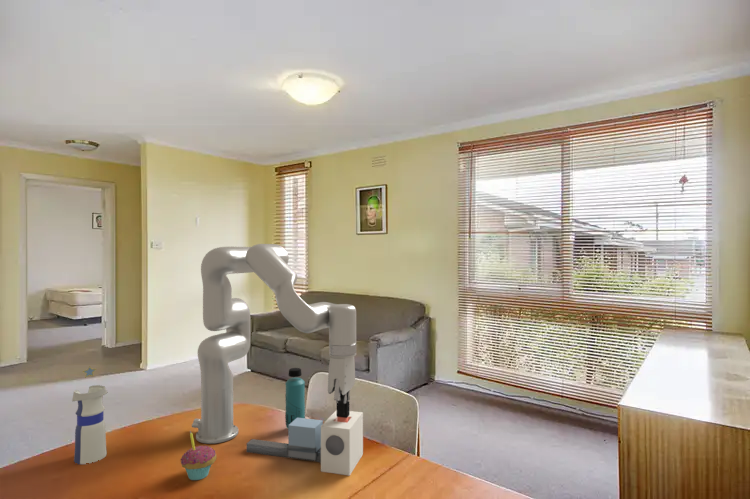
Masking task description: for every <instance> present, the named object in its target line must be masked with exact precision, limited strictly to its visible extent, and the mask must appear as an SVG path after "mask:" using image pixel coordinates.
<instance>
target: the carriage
mask: <svg viewBox="0 0 750 499" xmlns="http://www.w3.org/2000/svg"><path fill="white" fill-rule="evenodd" d="M323 423H324V420H323V419H313V418H306V417H305V418H296V419H295V420H294V421H293V422H292V423H290V424H289V425H288V428H287V429H288V431H287V432H288V434H287V435H288V438H287V439H288V443H287V444H288V456H289V457H296V458H304V459H311V460H316V452H317V451H318V450H319V449H320V448H321V425H322V424H323Z"/></svg>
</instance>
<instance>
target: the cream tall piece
mask: <svg viewBox="0 0 750 499" xmlns="http://www.w3.org/2000/svg"><path fill="white" fill-rule="evenodd" d="M96 370H97V368H92V367H91V366H89V367H88V368H87V369H85V370H83V371H82V373H85V376H84V378H87V377H94V376H95V375H94V372H95V371H96ZM107 393H108V390H107V388H106V387H105V386H104V385H100V384H97V385H95V384H94V385H90V386H89V387H88V392H87V393H85V392H83V393H81V392H80V391H79V390H78V389H75V390H74V391H73V393H72V394H73V395H72V399H71V401H72V402H77V405H78V406H77V409H76V410H75V415H76V426H75V431H74V455H73V457H74V458H73V463H74V462H75V463H74V464H76V463H77V464H76V465H87V464H86V463H89V464H93V463H96V462H98V460H99V461H101V460H103V459H104V458H105V457H107V453H108V452H107V439H106V438H107V436H106V420H104V411H105V409H106V407H105V405H104V403H103V402H104V401H103V398H104V397H103V396H105V395H106V394H107ZM92 462H93V463H92Z"/></svg>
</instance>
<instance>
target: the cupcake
mask: <svg viewBox="0 0 750 499" xmlns="http://www.w3.org/2000/svg"><path fill="white" fill-rule="evenodd" d="M189 436H190V437H189V438H190V443H191V448H189V449H188V450H187V451H184V452H185V453H183V454H182V456H181V458H180V464H181V467H182V468H184V469H185V471H186V474H187V477H188V479H189V480H191V481H199V480H202V479H205V478H207V477H208V475H209V472H210V468H211V466H212V465H213V464H214V463H215V461H216V460H217V453H216V450H215V449H214V448H212V447H211V446H209V445H198V446H197V445H196V444H195V439H194V435H193V432H192V431H191V430H189ZM195 445H196V446H195Z"/></svg>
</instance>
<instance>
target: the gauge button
mask: <svg viewBox="0 0 750 499" xmlns="http://www.w3.org/2000/svg"><path fill="white" fill-rule="evenodd" d="M337 421H338V422H348V417H347V418H344V417H337Z"/></svg>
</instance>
